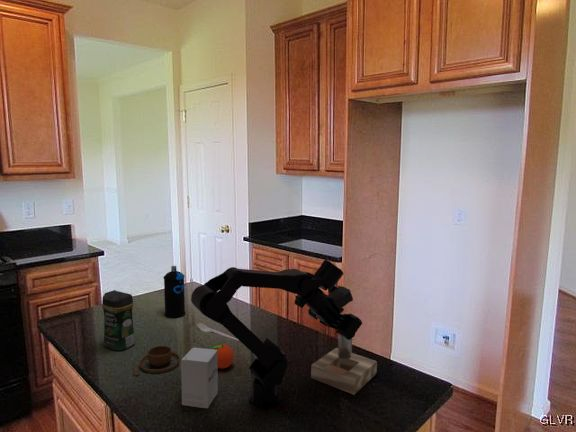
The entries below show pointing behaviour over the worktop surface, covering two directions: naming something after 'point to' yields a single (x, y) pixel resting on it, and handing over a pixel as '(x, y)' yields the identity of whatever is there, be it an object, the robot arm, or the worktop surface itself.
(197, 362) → the supplement box
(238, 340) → the white plastic spoon
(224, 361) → the clementine
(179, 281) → the aerosol can
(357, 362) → the hole block
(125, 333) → the coffee jar
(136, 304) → the worktop surface
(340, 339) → the peg
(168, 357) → the place setting
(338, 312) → the robot arm
